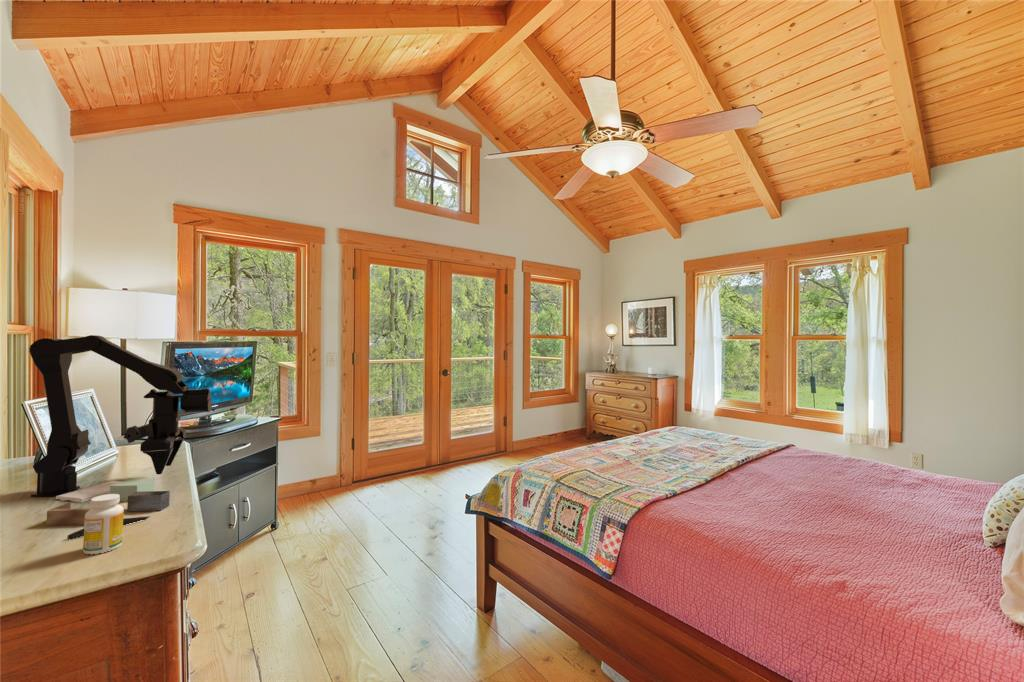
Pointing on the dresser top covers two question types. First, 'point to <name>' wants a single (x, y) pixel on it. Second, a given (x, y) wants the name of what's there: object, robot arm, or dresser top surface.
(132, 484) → the sage block
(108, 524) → the supplement bottle
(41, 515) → the dresser top surface
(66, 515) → the frame
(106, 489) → the external hard drive
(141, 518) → the folding knife
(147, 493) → the dark gray rectangular block
